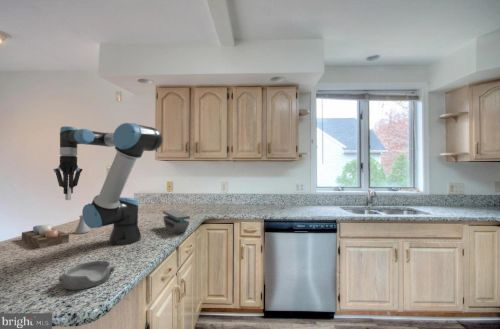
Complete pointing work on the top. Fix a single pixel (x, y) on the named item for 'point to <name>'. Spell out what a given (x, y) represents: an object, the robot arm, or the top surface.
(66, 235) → the wooden egg tray
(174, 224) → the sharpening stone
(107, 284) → the top surface
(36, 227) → the blue rounded lump
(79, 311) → the top surface
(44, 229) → the off-white round ball
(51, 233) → the peach orange ball
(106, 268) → the dish
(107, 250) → the top surface
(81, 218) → the flask
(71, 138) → the robot arm
